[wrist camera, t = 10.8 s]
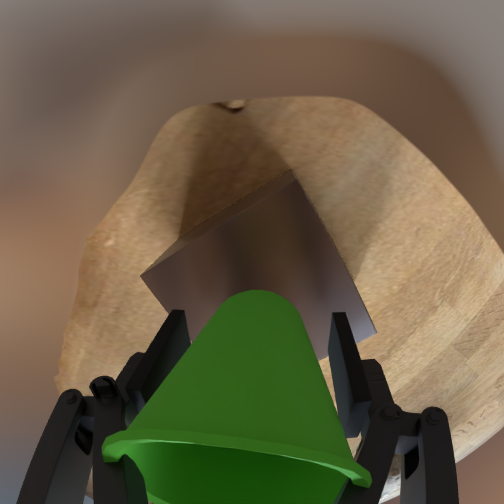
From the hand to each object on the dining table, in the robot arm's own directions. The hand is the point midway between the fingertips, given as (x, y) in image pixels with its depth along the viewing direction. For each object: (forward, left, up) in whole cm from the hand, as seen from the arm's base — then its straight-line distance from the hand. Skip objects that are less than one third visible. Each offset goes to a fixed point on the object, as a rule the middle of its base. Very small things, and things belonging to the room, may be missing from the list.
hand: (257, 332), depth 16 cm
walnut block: (0, 0, -11) cm, 11 cm away
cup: (0, 0, -1) cm, 1 cm away
